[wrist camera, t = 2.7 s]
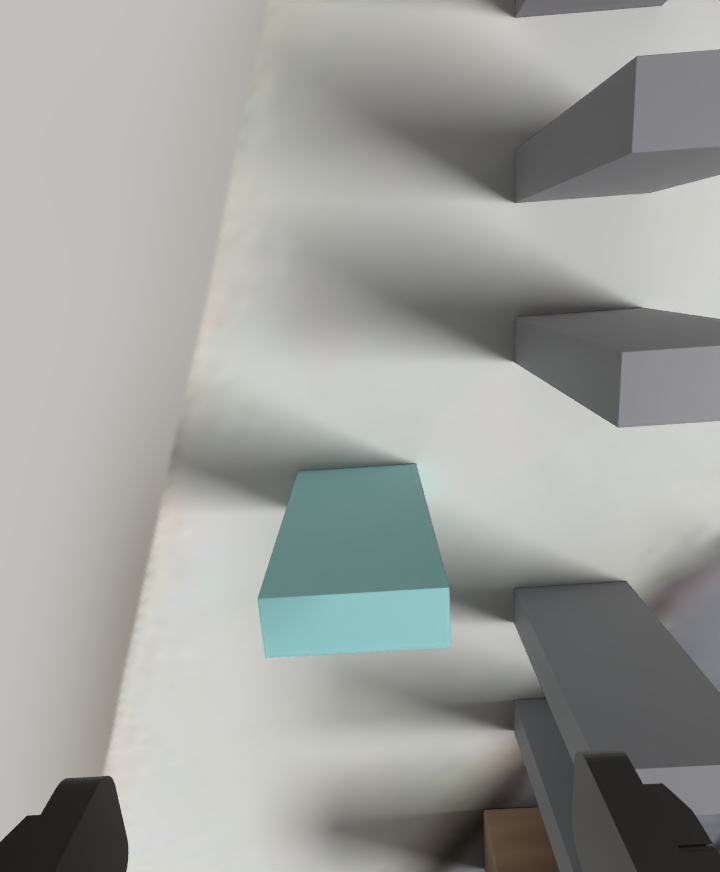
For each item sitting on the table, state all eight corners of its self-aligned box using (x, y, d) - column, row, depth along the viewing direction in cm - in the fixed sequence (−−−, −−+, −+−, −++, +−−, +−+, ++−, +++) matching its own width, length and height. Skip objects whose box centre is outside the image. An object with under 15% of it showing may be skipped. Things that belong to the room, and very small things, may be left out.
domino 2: (514, 699, 28) (592, 924, 19) (619, 694, 28) (753, 917, 18) (513, 731, 29) (589, 965, 19) (617, 725, 29) (747, 958, 19)
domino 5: (514, 588, 27) (599, 770, 17) (626, 581, 26) (777, 762, 17) (514, 623, 27) (597, 820, 17) (624, 616, 27) (769, 811, 17)
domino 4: (514, 316, 23) (622, 352, 14) (643, 307, 23) (842, 337, 14) (514, 362, 24) (618, 427, 14) (640, 353, 24) (830, 413, 14)
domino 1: (298, 471, 25) (257, 599, 15) (416, 463, 25) (449, 587, 15) (302, 510, 26) (265, 658, 16) (417, 503, 25) (451, 647, 16)
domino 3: (514, 150, 22) (636, 55, 12) (653, 139, 21) (888, 36, 12) (514, 202, 22) (631, 152, 12) (649, 192, 22) (873, 134, 12)
